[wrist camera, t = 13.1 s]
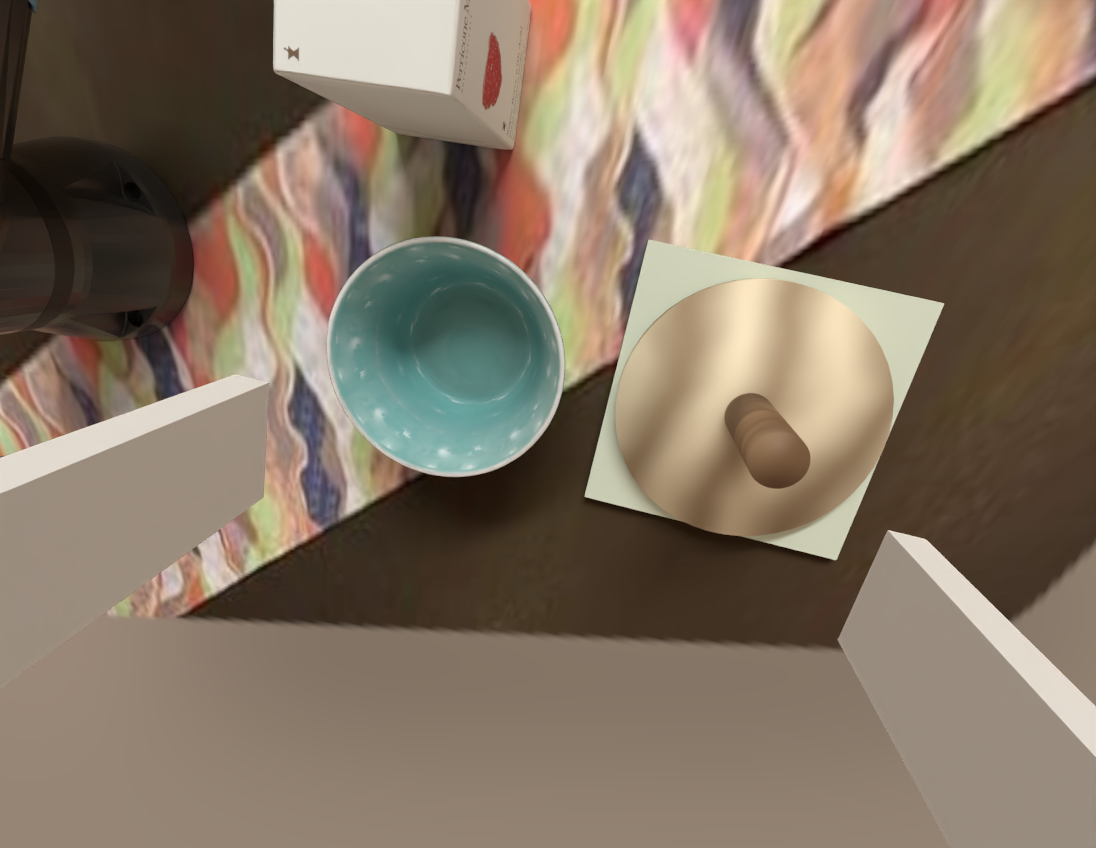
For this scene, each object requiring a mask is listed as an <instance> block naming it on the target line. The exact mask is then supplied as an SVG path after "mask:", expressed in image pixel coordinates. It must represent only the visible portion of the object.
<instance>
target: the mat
mask: <svg viewBox="0 0 1096 848" xmlns="http://www.w3.org/2000/svg"><path fill="white" fill-rule="evenodd" d="M751 278H764V279H777V280H784V281H790V282H794V283H798V284H801V285H805V286H808V287H811V288H814V289H817V290H819V291H821V292H823V293H825V294H827V295H829V296H832V297H833V298H835V299H836V300H838V301H839V302H841V303H842V304H844V305H845V306H847V307H848V308H849V309H850V310H851V311H853V312H854V313H855V314H856V315H857V316H858V317H859V318H860V319H861V320H862V321H863V322H864V323H865V324H866V326H867V327H868V328H869V329H870V330H871V332H872V333H873V335H874V336H875V338H876V339H877V341H878V343H879V344H880V346H881V348H882V350H883V353H884V355H885V357H886V360H887V362H888V365H889V369H890V373H891V378H892V382H893V394H894V406H893V418H892V423H891V427H890V431H891V429H892V427H893V424H894V422H895V420H896V417H897V415H898V412H899V410H900V408H901V405H902V403H903V401H904V398H905V396H906V393H907V391H908V389H909V386H910V384H911V382H912V379H913V377H914V374H915V372H916V370H917V367H918V365H919V363H920V360H921V358H922V355H923V353H924V351H925V348H926V346H927V344H928V341H929V339H930V336H931V334H932V332H933V329H934V327H935V324H936V322H937V320H938V317H939V315H940V313H941V310H942V308H943V305H944V303H940V302H935V301H931V300H926V299H922V298H917V297H912V296H908V295H903V294H898V293H894V292H889V291H884V290H880V289H875V288H871V287H866V286H861V285H857V284H852V283H847V282H843V281H838V280H833V279H829V278H824V277H820V276H815V275H810V274H806V273H801V272H796V271H792V270H787V269H782V268H778V267H773V266H769V265H764V264H759V263H755V262H750V261H745V260H741V259H736V258H732V257H727V256H722V255H718V254H713V253H708V252H704V251H699V250H694V249H690V248H685V247H681V246H676V245H671V244H667V243H662V242H657V241H653V240H648V243H647V247H646V251H645V255H644V259H643V263H642V267H641V271H640V275H639V279H638V283H637V287H636V291H635V295H634V299H633V303H632V307H631V311H630V315H629V319H628V323H627V327H626V331H625V335H624V339H623V343H622V347H621V351H620V355H619V359H618V363H617V367H616V371H615V375H614V380H613V384H612V388H611V392H610V396H609V400H608V404H607V408H606V412H605V416H604V420H603V424H602V428H601V432H600V436H599V440H598V444H597V448H596V452H595V456H594V460H593V464H592V468H591V472H590V476H589V480H588V484H587V488H586V492H585V497H587V498H591V499H595V500H599V501H603V502H607V503H611V504H615V505H619V506H623V507H627V508H631V509H635V510H639V511H643V512H646V513H650V514H654V515H658V516H662V517H666V518H670V519H674V520H678V521H681V520H679V519H677V518H676V517H674V516H672V515H671V514H669V513H668V512H666V511H665V510H663V509H662V508H661V507H660V506H658V505H657V504H656V503H655V502H654V501H652V500H651V498H650V497H649V496H648V495H647V494H646V493H645V492H644V491H643V490H642V489H641V487H640V486H639V485H638V483H637V482H636V480H635V479H634V478H633V476H632V474H631V473H630V471H629V469H628V467H627V465H626V463H625V461H624V458H623V455H622V452H621V450H620V447H619V442H618V437H617V433H616V421H615V410H616V397H617V392H618V387H619V382H620V378H621V375H622V372H623V369H624V366H625V364H626V362H627V360H628V358H629V356H630V354H631V352H632V350H633V348H634V347H635V345H636V344H637V342H638V341H639V339H640V338H641V336H642V335H643V334H644V332H645V331H646V330H647V329H648V328H649V327H650V326H651V324H652V323H653V322H654V321H655V320H656V319H657V318H659V317H660V316H661V315H662V314H663V313H664V312H665V311H667V310H668V309H669V308H671V307H672V306H674V305H675V304H676V303H678V302H679V301H681V300H682V299H684V298H686V297H688V296H690V295H692V294H694V293H696V292H698V291H700V290H703V289H705V288H708V287H711V286H714V285H716V284H720V283H725V282H729V281H733V280H741V279H751ZM889 434H890V432H889ZM888 436H889V435H888ZM887 439H888V438H887ZM879 458H880V457H879ZM878 460H879V459H878ZM877 462H878V461H877ZM876 465H877V463H876ZM876 465H875V466H874V468H873V469H872V471H871V472H870V473H869V475H868V476H867V478H866V479H865V480H864V482H863V483H862V484H861V485H860V486H859V487H858V488H857V489H856V490H855V491H854V492H853V493H852V494H851V495H850V496H849V497H848V498H847V499H846V500H844V501H843V502H842V503H841V504H840V505H838V506H837V507H835V508H834V509H832V510H831V511H829V512H828V513H826V514H825V515H823V516H821V517H819V518H817V519H815V520H813V521H811V522H809V523H807V524H804V525H802V526H799V527H796V528H794V529H790V530H787V531H783V532H779V533H774V534H767V535H760V536H742V537H746V538H750V539H754V540H758V541H762V542H766V543H770V544H774V545H778V546H781V547H785V548H789V549H793V550H797V551H801V552H805V553H809V554H813V555H817V556H821V557H825V558H829V559H833V560H837V557H838V555H839V553H840V550H841V548H842V546H843V543H844V541H845V538H846V536H847V534H848V531H849V529H850V526H851V524H852V522H853V519H854V517H855V515H856V512H857V510H858V507H859V505H860V503H861V500H862V498H863V496H864V493H865V491H866V488H867V486H868V484H869V481H870V479H871V477H872V474H873V472H874V469H875V467H876ZM682 522H683V521H682Z"/></svg>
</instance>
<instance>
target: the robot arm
mask: <svg viewBox="0 0 1096 848" xmlns="http://www.w3.org/2000/svg"><path fill="white" fill-rule="evenodd" d="M37 9H38V0H0V335H1V334H8V333H14V332H21V331H28V330H36V331H41V332H47V333H53V334H59V335H65V336H71V337H77V338H82V339H88V340H95V341H120V340H126V339H132V338H137V337H142V336H146V335H149V334H152V333H154V332H157V331H158V330H160V329H162V328H163V327H165V326H166V325H167V324H169V323H170V322H171V321H172V320H173V319H174V318H175V316H176V315H177V314H178V313H179V311H180V310H181V308H182V306H183V305H184V303H185V300H186V298H187V296H188V293H189V290H190V286H191V281H192V273H193V254H192V246H191V240H190V236H189V232H188V228H187V225H186V222H185V220H184V217H183V215H182V212H181V210H180V208H179V206H178V204H177V203H176V201H175V199H174V197H173V196H172V194H171V193H170V191H169V190H168V188H167V187H166V186H165V184H164V183H163V182H162V181H161V180H160V178H159V177H158V176H157V175H156V174H155V173H154V172H153V171H152V170H151V169H150V168H149V167H148V166H147V165H145V164H144V163H143V162H142V161H140V160H139V159H137V158H136V157H135V156H133V155H131V154H130V153H128V152H126V151H124V150H122V149H120V148H118V147H115V146H113V145H110V144H106V143H102V142H97V141H92V140H87V139H81V138H76V137H48V138H43V139H37V140H32V141H27V142H22V143H17V144H13V138H14V132H15V125H16V118H17V111H18V104H19V97H20V90H21V84H22V77H23V70H24V63H25V56H26V49H27V42H28V36H29V29H30V22H31V15H32V12H33V13H36V12H37ZM268 398H269V382H265V381H261V380H257V379H253V378H248V377H244V376H240V375H236V374H235V375H232V376H229V377H226V378H223V379H221V380H218V381H215V382H212V383H209V384H206V385H204V386H201V387H198V388H195V389H192V390H190V391H187V392H184V393H181V394H178V395H175V396H173V397H170V398H167V399H164V400H161V401H159V402H156V403H153V404H150V405H147V406H145V407H142V408H139V409H136V410H133V411H130V412H128V413H125V414H122V415H119V416H116V417H114V418H111V419H108V420H105V421H102V422H99V423H97V424H94V425H91V426H88V427H85V428H83V429H80V430H77V431H74V432H71V433H69V434H66V435H63V436H60V437H57V438H54V439H52V440H49V441H46V442H43V443H40V444H38V445H35V446H32V447H29V448H26V449H23V450H21V451H18V452H15V453H12V454H9V455H7V456H2V457H0V689H1V688H3V687H4V686H5V685H7V684H8V683H9V682H11V681H12V680H13V679H15V678H16V677H17V676H19V675H20V674H22V673H23V672H24V671H25V670H27V669H29V668H30V667H31V666H33V665H34V664H35V663H37V662H38V661H40V660H41V659H42V658H44V657H45V656H46V655H48V654H49V653H51V652H52V651H53V650H55V649H56V648H57V647H59V646H60V645H61V644H63V643H64V642H65V641H67V640H68V639H70V638H71V637H72V636H74V635H75V634H77V633H78V632H79V631H81V630H82V629H83V628H85V627H86V626H88V625H89V624H90V623H92V622H93V621H94V620H96V619H97V618H99V617H100V616H101V615H103V614H104V613H105V612H107V611H108V610H110V609H111V608H112V607H114V606H115V605H116V604H118V603H119V602H121V601H122V600H123V599H125V598H126V597H127V596H129V595H130V594H132V593H133V592H134V591H136V590H137V589H138V588H140V587H141V586H142V585H144V584H145V583H147V582H148V581H149V580H151V579H152V578H153V577H155V576H156V575H158V574H159V573H160V572H162V571H163V570H164V569H166V568H167V567H169V566H170V565H171V564H173V563H174V562H175V561H177V560H178V559H180V558H181V557H182V556H184V555H185V554H186V553H188V552H189V551H191V550H192V549H193V548H195V547H196V546H197V545H199V544H200V543H202V542H203V541H204V540H206V539H207V538H208V537H210V536H211V535H212V534H214V533H215V532H217V531H218V530H219V529H221V528H222V527H223V526H225V525H226V524H228V523H229V522H230V521H232V520H233V519H234V518H236V517H237V516H239V515H240V514H241V513H243V512H244V511H245V510H247V509H248V508H250V507H251V506H252V505H254V504H255V503H256V502H258V501H259V500H261V499H262V498H263V497H264V478H265V458H266V438H267V418H268ZM838 641H839V643H840V645H841V647H842V649H843V651H844V653H845V654H846V656H847V658H848V660H849V662H850V664H851V665H852V667H853V669H854V671H855V673H856V675H857V677H858V678H859V680H860V682H861V684H862V686H863V688H864V689H865V691H866V693H867V695H868V697H869V699H870V701H871V702H872V704H873V706H874V708H875V710H876V712H877V713H878V715H879V717H880V719H881V721H882V723H883V725H884V726H885V728H886V730H887V732H888V734H889V735H890V737H891V739H892V741H893V743H894V745H895V747H896V749H897V750H898V752H899V754H900V756H901V758H902V760H903V761H904V763H905V765H906V767H907V769H908V771H909V773H910V774H911V776H912V778H913V780H914V782H915V784H916V785H917V787H918V789H919V791H920V793H921V795H922V796H923V798H924V800H925V802H926V804H927V805H928V808H929V809H930V811H931V813H932V815H933V817H934V819H935V820H936V822H937V824H938V826H939V828H940V830H941V832H942V833H943V835H944V837H945V839H946V841H947V843H948V845H949V846H950V848H1096V706H1095V705H1094V704H1093V703H1091V702H1090V701H1089V700H1088V699H1087V698H1086V697H1085V696H1084V695H1083V694H1082V693H1081V692H1080V691H1079V690H1078V689H1077V688H1076V687H1075V686H1074V685H1073V684H1072V683H1071V682H1070V681H1069V680H1068V679H1067V678H1066V677H1065V676H1064V675H1063V674H1062V673H1061V672H1060V671H1059V670H1058V669H1057V668H1056V667H1055V666H1054V665H1053V664H1052V663H1051V662H1050V661H1049V660H1048V659H1047V658H1046V657H1045V656H1044V655H1043V654H1042V653H1041V652H1040V651H1039V650H1038V649H1036V647H1034V645H1033V644H1032V643H1031V642H1030V641H1028V639H1026V637H1025V636H1023V635H1022V634H1021V633H1020V632H1019V631H1018V630H1017V629H1016V628H1015V627H1014V626H1013V625H1012V624H1011V623H1010V622H1009V621H1008V620H1007V619H1006V618H1005V617H1004V616H1003V615H1002V614H1001V613H1000V612H999V611H998V610H997V609H996V608H995V607H994V606H993V605H992V604H991V603H990V602H989V601H988V600H987V599H986V598H985V597H984V596H983V595H982V594H981V593H980V592H979V591H978V590H977V589H976V588H975V587H974V586H973V585H972V584H971V583H970V582H969V581H968V580H967V579H966V578H965V577H964V576H963V575H962V574H961V573H960V572H959V571H958V570H957V569H956V568H955V567H953V566H952V565H951V564H950V563H949V562H948V561H947V560H946V559H945V558H944V557H943V556H942V555H941V554H940V553H939V552H938V551H937V550H936V549H935V548H934V547H933V546H932V545H931V544H930V543H929V542H928V541H927V540H926V539H923V538H919V537H914V536H910V535H906V534H902V533H898V532H893V531H889V530H888V531H887V533H886V535H885V537H884V539H883V542H882V544H881V546H880V548H879V550H878V553H877V555H876V557H875V559H874V561H873V564H872V566H871V568H870V570H869V572H868V575H867V577H866V579H865V581H864V583H863V586H862V588H861V590H860V592H859V594H858V597H857V599H856V601H855V603H854V605H853V608H852V610H851V612H850V614H849V616H848V619H847V621H846V623H845V625H844V627H843V630H842V632H841V634H840V636H839V638H838Z"/></svg>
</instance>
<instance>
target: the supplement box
mask: <svg viewBox="0 0 1096 848" xmlns="http://www.w3.org/2000/svg"><path fill="white" fill-rule="evenodd" d="M530 17H531V5H530V3H529V0H274V38H273V68H274V72H275V73H276V74H278V75H280V76H283V77H285V78H287V79H289V80H291V81H293V82H295V83H297V84H299V85H301V86H303V87H305V88H307V89H309V90H311V91H313V92H315V93H317V94H319V95H321V96H323V97H325V98H327V99H329V100H331V101H333V102H335V103H337V104H339V105H341V106H343V107H345V108H347V109H349V110H351V111H352V112H354V113H356V114H358V115H360V116H362V117H364V118H366V119H368V120H370V121H373V122H374V123H376V124H378V125H380V126H382V127H384V128H386V129H388V130H390V131H392V132H394V133H396V134H402V135H408V136H415V137H421V138H428V139H435V140H442V141H449V142H455V143H462V144H469V145H475V146H481V147H488V148H495V149H504V150H512V149H513V148H514V142H515V135H516V128H517V121H518V113H519V105H520V97H521V89H522V81H523V73H524V66H525V58H526V50H527V42H528V34H529V26H530Z"/></svg>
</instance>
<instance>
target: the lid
mask: <svg viewBox="0 0 1096 848" xmlns="http://www.w3.org/2000/svg"><path fill="white" fill-rule="evenodd" d="M893 406H894V394H893V382H892V378H891V373H890V369H889V365H888V362H887V360H886V357H885V355H884V353H883V350H882V348H881V346H880V344H879V343H878V341H877V339H876V338H875V336H874V335H873V333H872V332H871V330H870V329H869V328H868V327H867V326H866V324H865V323H864V322H863V321H862V320H861V319H860V318H859V317H858V316H857V315H856V314H855V313H854V312H853V311H851V310H850V309H849V308H848V307H847V306H845V305H844V304H842V303H841V302H839V301H838V300H836V299H835V298H833V297H832V296H829V295H827V294H825V293H823V292H821V291H819V290H817V289H814V288H811V287H808V286H805V285H801V284H798V283H794V282H790V281H784V280H777V279H764V278H751V279H741V280H733V281H729V282H725V283H720V284H716V285H714V286H711V287H708V288H705V289H703V290H700V291H698V292H696V293H694V294H692V295H690V296H688V297H686V298H684V299H682V300H681V301H679V302H678V303H676V304H675V305H674V306H672V307H671V308H669V309H668V310H667V311H665V312H664V313H663V314H662V315H661V316H660V317H659V318H657V319H656V320H655V321H654V322H653V323H652V324H651V326H650V327H649V328H648V329H647V330H646V331H645V332H644V334H643V335H642V336H641V338H640V339H639V341H638V342H637V344H636V345H635V347H634V348H633V350H632V352H631V354H630V356H629V358H628V360H627V362H626V364H625V366H624V369H623V372H622V375H621V378H620V382H619V387H618V392H617V397H616V410H615V421H616V433H617V437H618V442H619V447H620V450H621V452H622V455H623V458H624V461H625V463H626V465H627V467H628V469H629V471H630V473H631V474H632V476H633V478H634V479H635V480H636V482H637V483H638V485H639V486H640V487H641V489H642V490H643V491H644V492H645V493H646V494H647V495H648V496H649V497H650V498H651V500H652V501H654V502H655V503H656V504H657V505H658V506H660V507H661V508H662V509H663V510H665V511H666V512H668V513H669V514H671V515H672V516H674V517H676V518H677V519H679V520H681V521H683V522H685V523H687V524H690V525H692V526H694V527H697V528H700V529H703V530H706V531H710V532H715V533H720V534H724V535H735V536H760V535H767V534H774V533H779V532H783V531H787V530H790V529H794V528H796V527H799V526H802V525H804V524H807V523H809V522H811V521H813V520H815V519H817V518H819V517H821V516H823V515H825V514H826V513H828V512H829V511H831V510H832V509H834V508H835V507H837V506H838V505H840V504H841V503H842V502H843V501H844V500H846V499H847V498H848V497H849V496H850V495H851V494H852V493H853V492H854V491H855V490H856V489H857V488H858V487H859V486H860V485H861V484H862V483H863V482H864V480H865V479H866V478H867V476H868V475H869V473H870V472H871V471H872V469H873V468H874V466H875V465H876V463H877V461H878V459H879V457H880V455H881V453H882V451H883V449H884V446H885V444H886V441H887V438H888V435H889V432H890V427H891V423H892V418H893Z"/></svg>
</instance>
